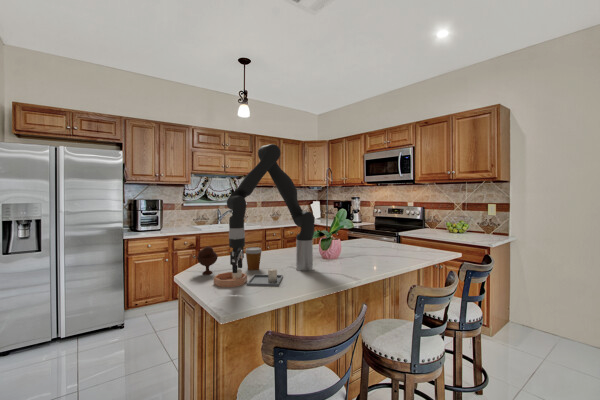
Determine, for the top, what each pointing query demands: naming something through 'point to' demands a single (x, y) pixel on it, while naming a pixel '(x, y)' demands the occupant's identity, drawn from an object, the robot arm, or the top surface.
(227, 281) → the terracotta bowl
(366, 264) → the top surface
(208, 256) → the ice cream bowl
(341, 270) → the top surface
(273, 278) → the pebble
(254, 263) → the disposable coffee cup
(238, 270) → the pebble
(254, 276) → the tray
